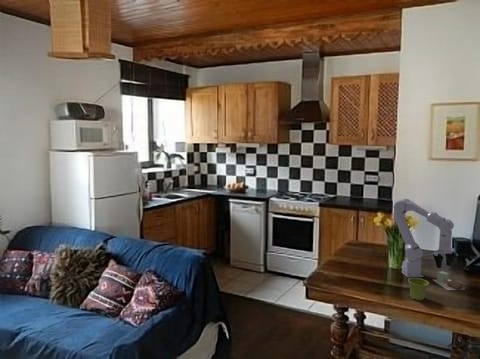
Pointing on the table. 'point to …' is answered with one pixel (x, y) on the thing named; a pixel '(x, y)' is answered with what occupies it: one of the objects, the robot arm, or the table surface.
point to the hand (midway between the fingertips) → (443, 266)
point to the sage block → (442, 277)
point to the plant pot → (418, 288)
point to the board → (446, 285)
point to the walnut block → (456, 284)
